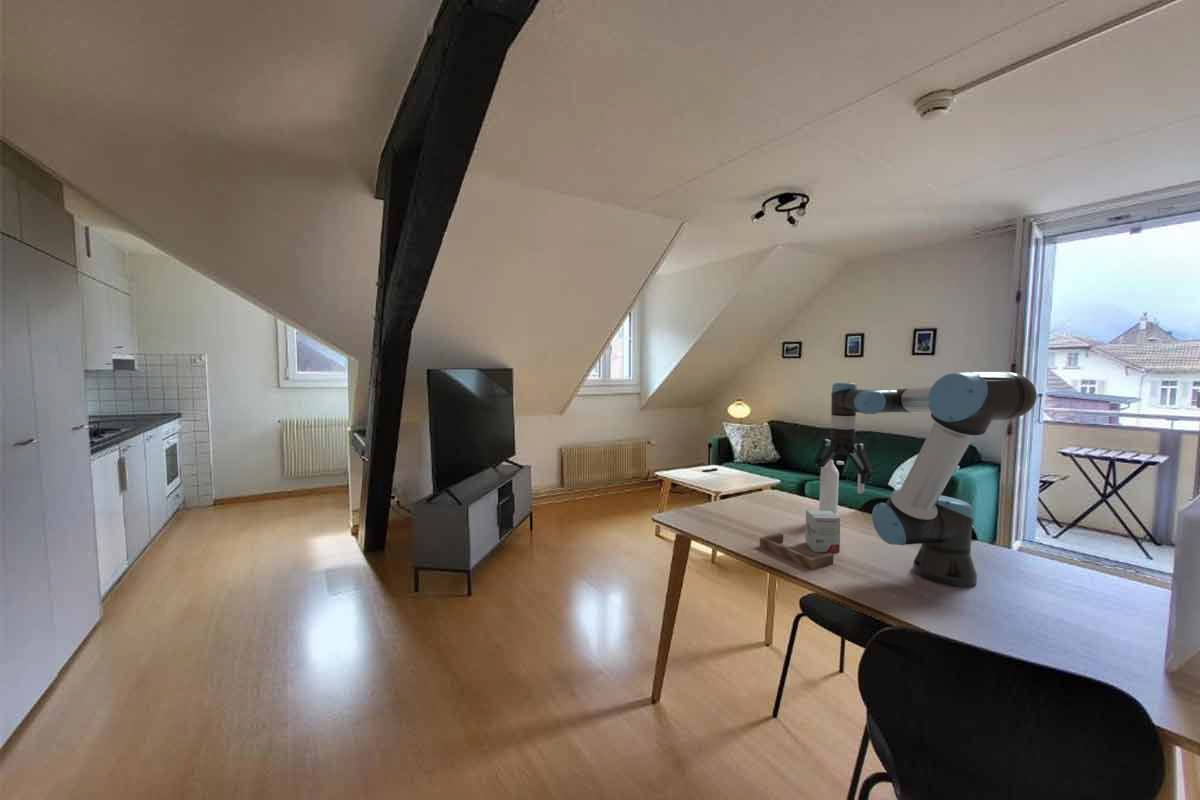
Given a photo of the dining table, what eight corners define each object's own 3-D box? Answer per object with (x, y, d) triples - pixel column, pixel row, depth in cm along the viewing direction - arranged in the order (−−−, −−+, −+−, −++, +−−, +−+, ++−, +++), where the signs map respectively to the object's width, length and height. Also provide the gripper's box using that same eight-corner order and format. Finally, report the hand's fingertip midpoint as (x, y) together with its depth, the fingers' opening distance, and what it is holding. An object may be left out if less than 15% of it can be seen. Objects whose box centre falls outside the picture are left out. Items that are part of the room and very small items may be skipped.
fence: (833, 563, 148) (833, 554, 148) (812, 570, 144) (812, 560, 144) (779, 541, 167) (779, 533, 167) (759, 546, 163) (759, 537, 162)
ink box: (830, 543, 165) (831, 509, 164) (840, 553, 157) (841, 517, 156) (804, 542, 166) (805, 509, 165) (812, 552, 158) (813, 517, 157)
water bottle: (815, 522, 187) (817, 459, 184) (825, 519, 190) (827, 457, 188) (835, 528, 179) (838, 463, 177) (846, 525, 182) (848, 461, 180)
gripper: (886, 430, 155) (884, 495, 157) (817, 423, 177) (816, 480, 178) (873, 432, 151) (871, 498, 153) (804, 424, 173) (803, 482, 174)
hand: (841, 488), depth 165 cm, fingers open, 13 cm apart
